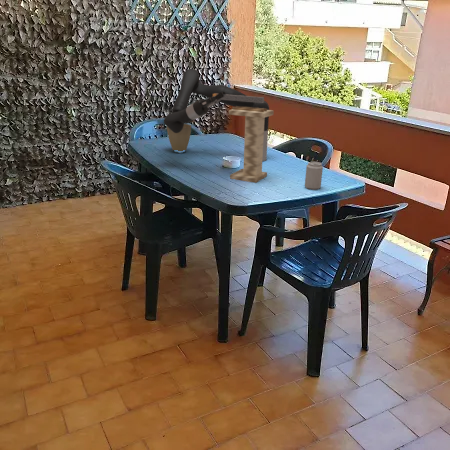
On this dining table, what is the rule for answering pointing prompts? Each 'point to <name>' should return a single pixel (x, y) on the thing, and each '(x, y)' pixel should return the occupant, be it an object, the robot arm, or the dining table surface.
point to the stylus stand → (252, 143)
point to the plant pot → (180, 138)
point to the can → (313, 175)
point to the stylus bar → (242, 98)
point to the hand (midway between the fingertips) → (224, 93)
